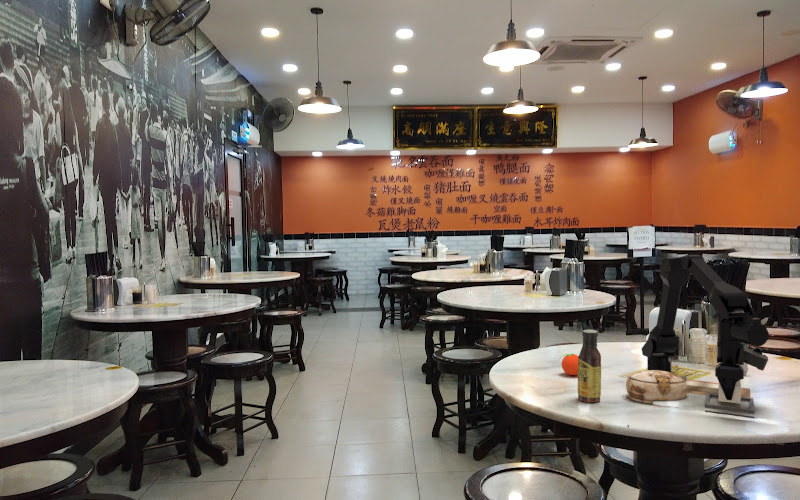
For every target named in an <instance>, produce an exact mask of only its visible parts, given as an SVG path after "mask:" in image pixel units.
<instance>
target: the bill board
mask: <svg viewBox="0 0 800 500" xmlns="http://www.w3.org/2000/svg"><path fill="white" fill-rule="evenodd" d="M679 376H680V377H682V378H683V379H684V381H685V383H686V385H687V394H691V395H700V396H706V394H707V393H712V394H719V382H714V381H705V380H697V379H696V380H694V379H688V378H687V376H685V375H679ZM741 397H746V398H752V397H751V388H747V387H741Z"/></svg>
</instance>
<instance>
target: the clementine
mask: <svg viewBox="0 0 800 500" xmlns="http://www.w3.org/2000/svg"><path fill="white" fill-rule="evenodd" d="M562 357H563V359H562V361H561V368H562V370H563V372H564V373H565V374H567V376H568V375H569V376H571V375H575V376H578V357H579V355H578V354H576V353H575V354H574V353H567V354H563V355H561V356H560V358H559V359H561V358H562ZM558 361H560V360H558Z"/></svg>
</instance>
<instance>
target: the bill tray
mask: <svg viewBox="0 0 800 500" xmlns="http://www.w3.org/2000/svg"><path fill="white" fill-rule="evenodd" d="M711 398H715V399H719V394H712V393H707V394H706V395H705V401H704V408H707V409H713V410H720V411H721V410H722V411H730V412H735V413H736V412H737V413H746V414H752V415H753V414H755V402H754V398H753V397H751V398H746V397H741V402H748V403H749V407H750V408H746V407H739V406H738V407H736V406H728V405H720V404H713V403H710V399H711ZM713 410H706V409H705V410H704V412H705V413H712V414H719V415H725V416H726V415H727V416H734V417H741V418H742V417H743V418H748V419H749V418H750V419H755V416H750V415H741V414H737V413H736V414H735V413H734V414H733V413H728V412H720V411H713Z"/></svg>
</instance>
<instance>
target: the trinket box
mask: <svg viewBox="0 0 800 500" xmlns="http://www.w3.org/2000/svg"><path fill="white" fill-rule="evenodd" d="M680 376H681V375H678V374H677V373H673V372H671V373H670V372H666V371H659V370H641V371H637V372H635V373H633V374H632V375H630V376H628V378H627V379H626V382H625V389H626V392H627V394H628V398H629V399H631V400H633V401H636V402H641V403H645V404H653V403H654V401H676V400H682V399H685V398H686V397H687V395H688V393H687V385H686V383H685V381H684V379H683V378H682V377H680Z"/></svg>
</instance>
